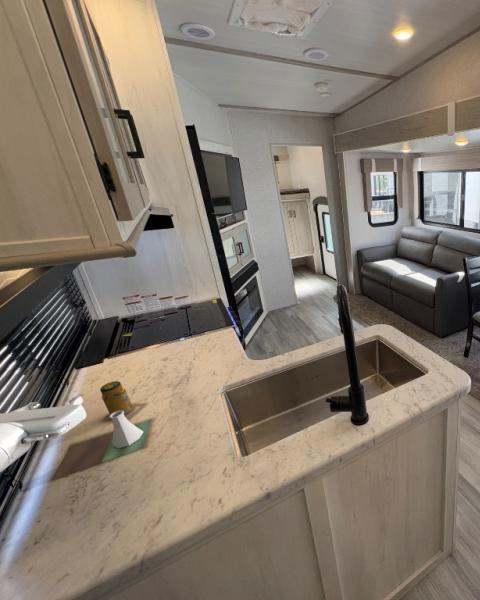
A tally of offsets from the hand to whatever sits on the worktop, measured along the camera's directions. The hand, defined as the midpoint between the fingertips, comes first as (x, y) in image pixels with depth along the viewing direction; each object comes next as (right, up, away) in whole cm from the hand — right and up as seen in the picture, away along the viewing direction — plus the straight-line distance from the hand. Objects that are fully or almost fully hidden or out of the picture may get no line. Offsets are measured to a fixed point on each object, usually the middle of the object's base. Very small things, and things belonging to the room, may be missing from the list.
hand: (58, 401), depth 76 cm
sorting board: (-4, -20, +18) cm, 27 cm away
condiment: (-12, -15, +32) cm, 38 cm away
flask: (0, -19, +20) cm, 27 cm away
